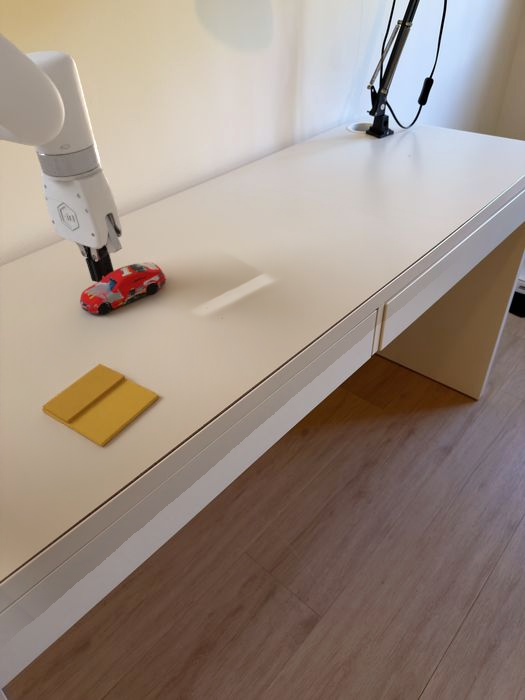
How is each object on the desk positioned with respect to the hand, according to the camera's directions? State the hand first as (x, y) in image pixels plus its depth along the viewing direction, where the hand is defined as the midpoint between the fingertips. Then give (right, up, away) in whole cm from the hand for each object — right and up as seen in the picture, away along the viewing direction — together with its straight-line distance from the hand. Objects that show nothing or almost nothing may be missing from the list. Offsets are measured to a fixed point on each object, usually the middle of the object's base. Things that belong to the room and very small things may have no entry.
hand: (103, 277), depth 81 cm
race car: (+4, -3, -1) cm, 5 cm away
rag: (+6, -18, -19) cm, 27 cm away
